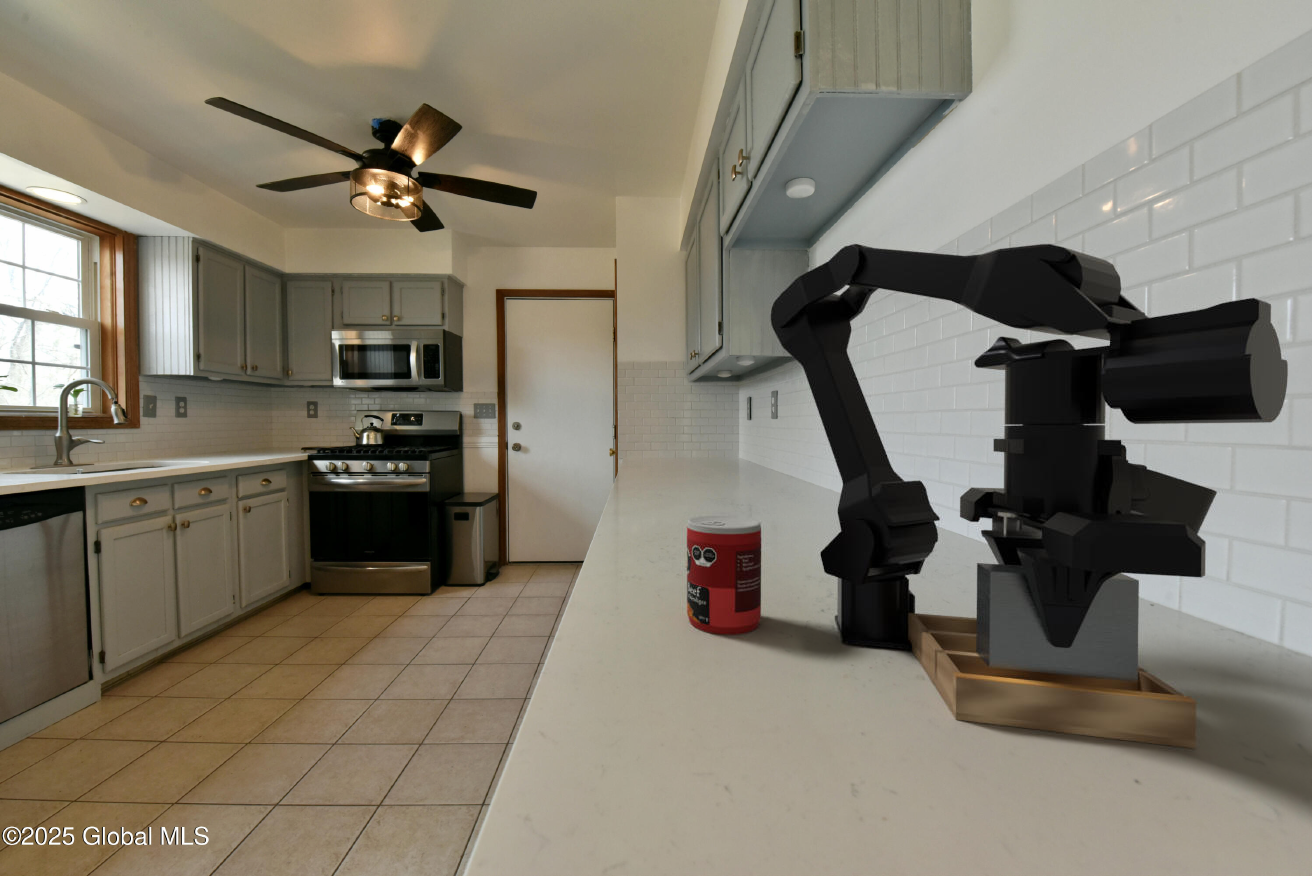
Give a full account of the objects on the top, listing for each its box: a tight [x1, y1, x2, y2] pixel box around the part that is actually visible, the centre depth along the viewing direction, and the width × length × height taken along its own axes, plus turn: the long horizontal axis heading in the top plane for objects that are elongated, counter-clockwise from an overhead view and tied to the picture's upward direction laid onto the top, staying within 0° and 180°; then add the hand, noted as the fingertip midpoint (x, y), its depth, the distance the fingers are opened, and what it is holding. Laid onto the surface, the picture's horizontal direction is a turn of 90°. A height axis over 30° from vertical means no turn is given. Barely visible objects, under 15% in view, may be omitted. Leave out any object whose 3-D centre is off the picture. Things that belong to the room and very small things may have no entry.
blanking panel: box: [976, 562, 1140, 682], centre depth 36 cm, size 9×2×7 cm, turn 77°
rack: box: [908, 612, 1197, 749], centre depth 40 cm, size 14×13×3 cm
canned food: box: [686, 515, 762, 636], centre depth 54 cm, size 8×8×11 cm
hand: (1050, 638), depth 36 cm, fingers closed on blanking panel, 2 cm apart
